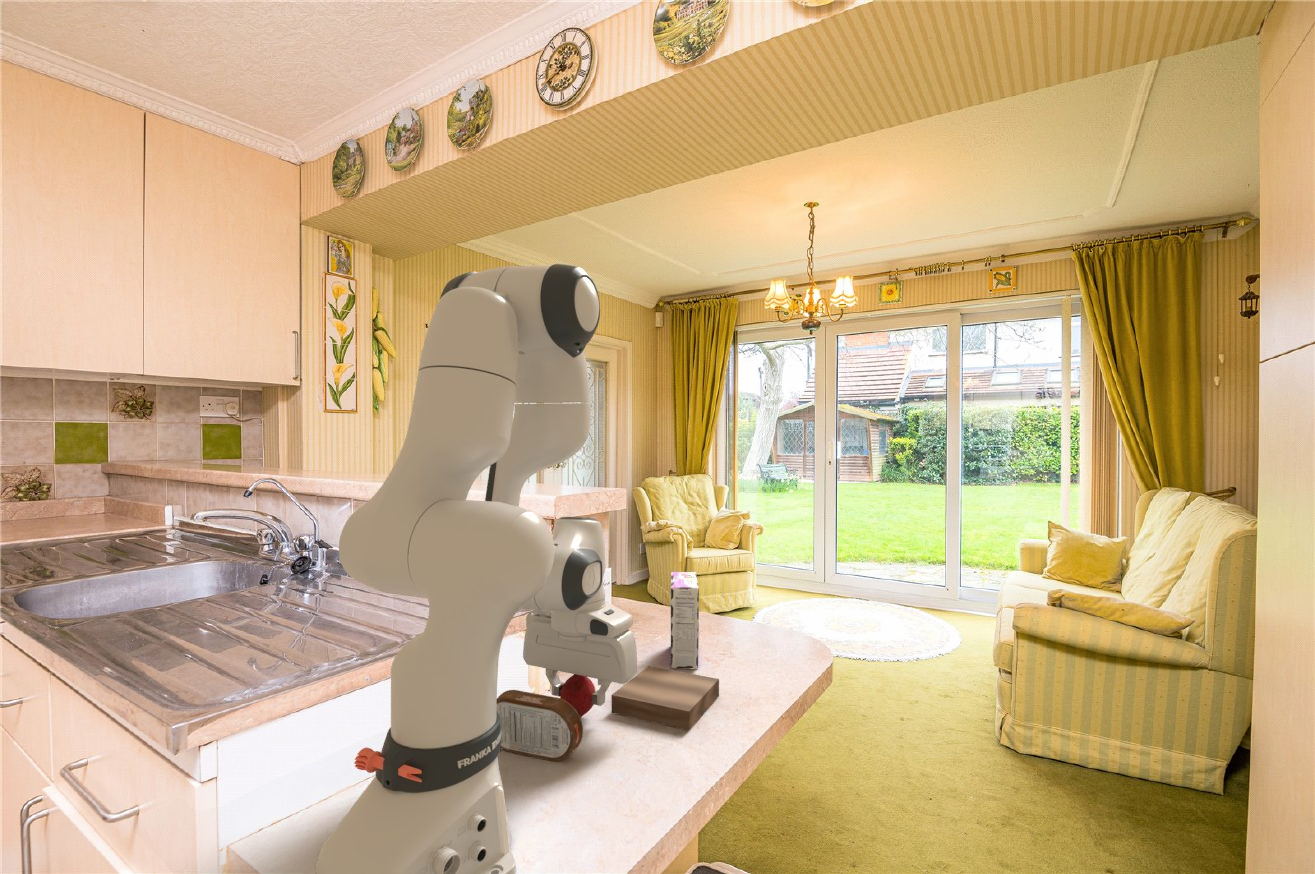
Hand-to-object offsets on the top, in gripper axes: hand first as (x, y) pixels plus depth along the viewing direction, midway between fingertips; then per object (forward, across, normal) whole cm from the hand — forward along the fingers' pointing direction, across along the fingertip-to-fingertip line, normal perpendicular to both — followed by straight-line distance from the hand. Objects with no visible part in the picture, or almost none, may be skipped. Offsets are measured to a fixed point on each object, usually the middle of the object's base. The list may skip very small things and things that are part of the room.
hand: (578, 699), depth 97 cm
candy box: (+3, +5, +33) cm, 34 cm away
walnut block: (+3, +11, +11) cm, 16 cm away
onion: (+3, 0, 0) cm, 3 cm away
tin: (+3, 0, -12) cm, 12 cm away
